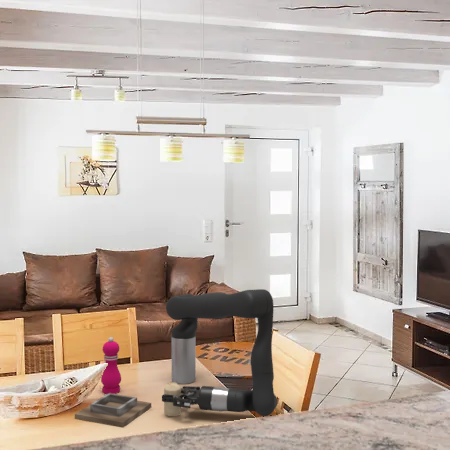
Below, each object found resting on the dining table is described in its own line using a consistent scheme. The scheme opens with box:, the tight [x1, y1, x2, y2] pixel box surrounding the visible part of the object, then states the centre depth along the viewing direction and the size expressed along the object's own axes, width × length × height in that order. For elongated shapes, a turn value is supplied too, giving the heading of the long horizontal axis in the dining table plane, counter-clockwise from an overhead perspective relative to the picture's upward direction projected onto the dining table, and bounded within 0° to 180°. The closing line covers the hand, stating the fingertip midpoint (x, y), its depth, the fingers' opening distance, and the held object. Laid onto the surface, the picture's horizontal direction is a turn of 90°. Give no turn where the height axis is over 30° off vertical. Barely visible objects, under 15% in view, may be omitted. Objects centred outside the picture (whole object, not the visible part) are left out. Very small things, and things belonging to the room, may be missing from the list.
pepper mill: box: [100, 336, 122, 395], centre depth 213 cm, size 7×7×20 cm
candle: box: [163, 382, 182, 417], centre depth 193 cm, size 6×6×10 cm
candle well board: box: [74, 393, 152, 428], centre depth 193 cm, size 18×18×4 cm
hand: (165, 394), depth 193 cm, fingers closed on candle, 5 cm apart
